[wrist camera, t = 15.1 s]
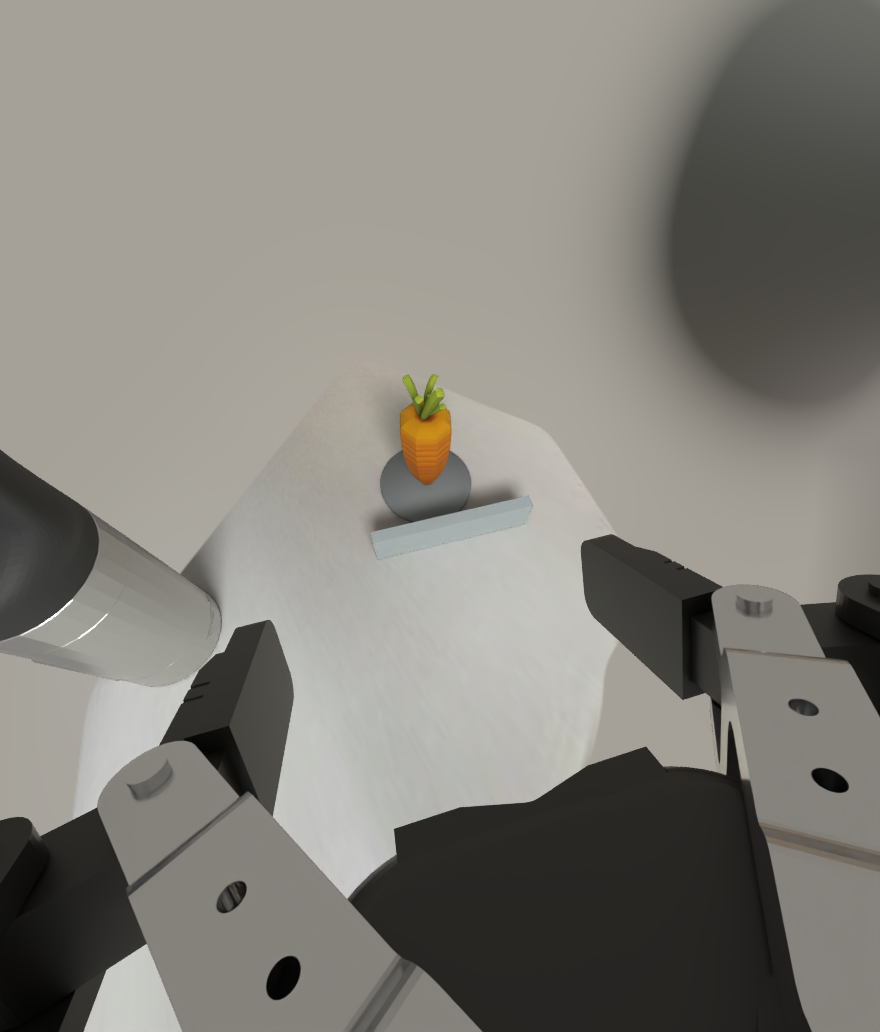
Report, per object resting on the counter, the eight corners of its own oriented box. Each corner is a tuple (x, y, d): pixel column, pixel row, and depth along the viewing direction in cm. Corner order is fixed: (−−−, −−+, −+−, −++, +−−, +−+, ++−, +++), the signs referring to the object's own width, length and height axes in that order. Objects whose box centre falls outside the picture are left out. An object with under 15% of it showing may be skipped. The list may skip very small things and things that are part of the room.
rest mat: (391, 533, 46) (391, 531, 46) (373, 457, 51) (372, 455, 50) (482, 511, 48) (482, 510, 47) (456, 439, 52) (456, 437, 52)
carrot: (397, 473, 49) (384, 372, 36) (437, 458, 50) (439, 354, 37) (415, 509, 47) (408, 415, 34) (457, 492, 48) (466, 394, 35)
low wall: (377, 559, 45) (372, 543, 41) (375, 549, 45) (370, 532, 42) (525, 524, 47) (533, 505, 43) (521, 514, 47) (528, 495, 44)
